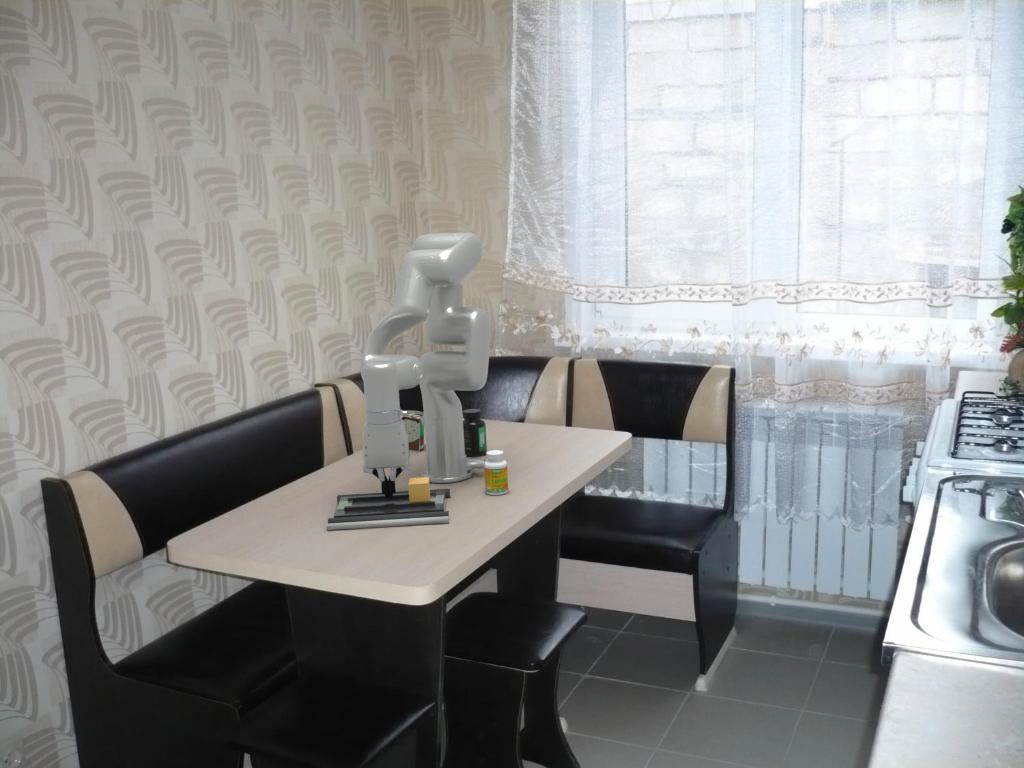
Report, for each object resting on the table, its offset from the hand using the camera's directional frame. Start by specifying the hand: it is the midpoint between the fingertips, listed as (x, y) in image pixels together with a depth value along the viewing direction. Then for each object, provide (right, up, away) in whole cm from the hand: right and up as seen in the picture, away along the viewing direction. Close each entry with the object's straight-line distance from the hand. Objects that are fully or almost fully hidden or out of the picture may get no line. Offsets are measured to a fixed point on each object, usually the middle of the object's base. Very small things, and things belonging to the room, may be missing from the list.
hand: (389, 496), depth 237 cm
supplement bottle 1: (+17, +6, +47) cm, 50 cm away
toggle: (+7, -1, +1) cm, 7 cm away
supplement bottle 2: (+24, 0, +11) cm, 27 cm away
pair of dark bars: (0, -3, +1) cm, 4 cm away
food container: (0, +7, +57) cm, 57 cm away
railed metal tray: (0, -3, +1) cm, 4 cm away
